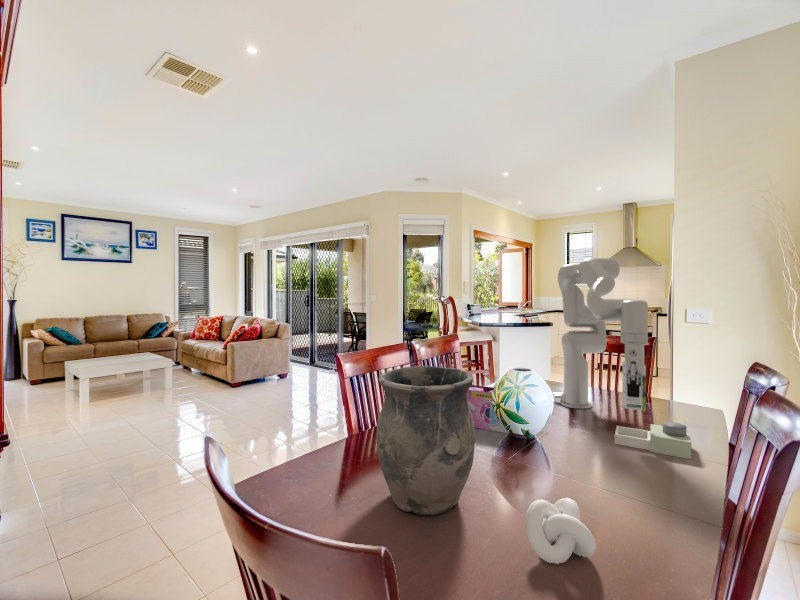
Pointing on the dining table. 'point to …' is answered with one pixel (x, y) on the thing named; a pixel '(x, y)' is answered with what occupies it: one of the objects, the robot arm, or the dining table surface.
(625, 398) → the syrup box
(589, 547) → the white knot sculpture
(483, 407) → the pink product box
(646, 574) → the dining table surface
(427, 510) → the clay pot
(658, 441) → the knob block with frame
